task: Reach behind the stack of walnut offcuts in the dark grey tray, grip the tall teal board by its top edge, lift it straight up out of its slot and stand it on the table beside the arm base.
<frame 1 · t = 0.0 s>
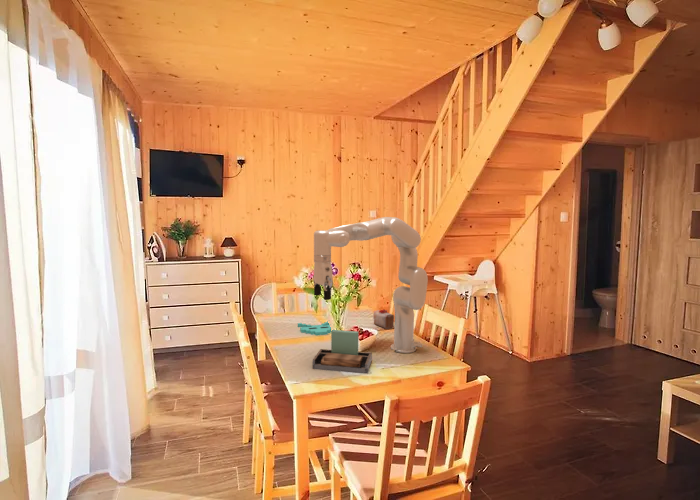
hand: (322, 297, 189), 31 cm above the table, tool pointing down, fingers open, 9 cm apart
food item: (383, 326, 254), on the table
bottom offcut: (341, 366, 189), point 1 cm above the table, touching dark grey tray, middle offcut
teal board: (344, 361, 195), point 1 cm above the table, touching dark grey tray
dark grey tray: (342, 367, 191), on the table
middle offcut: (340, 363, 189), point 3 cm above the table, touching bottom offcut, top offcut
top offcut: (343, 360, 188), point 4 cm above the table, touching middle offcut
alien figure: (317, 330, 246), on the table
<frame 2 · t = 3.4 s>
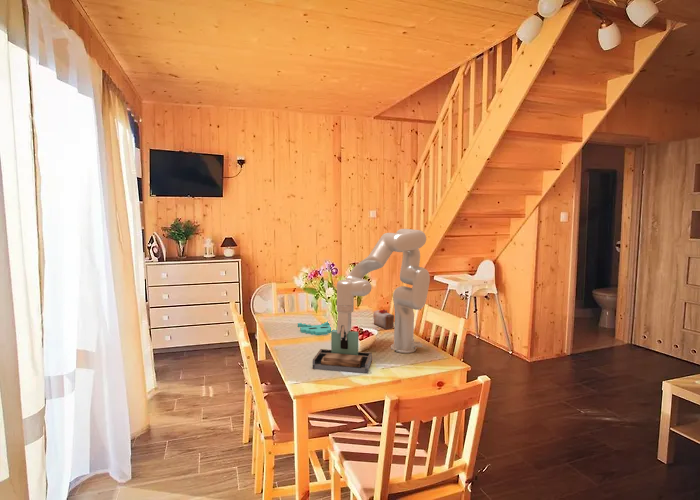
hand: (344, 347, 194), 8 cm above the table, tool pointing down, fingers closed on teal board, 2 cm apart
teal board: (344, 361, 195), point 1 cm above the table, touching gripper, dark grey tray
everything else where it was.
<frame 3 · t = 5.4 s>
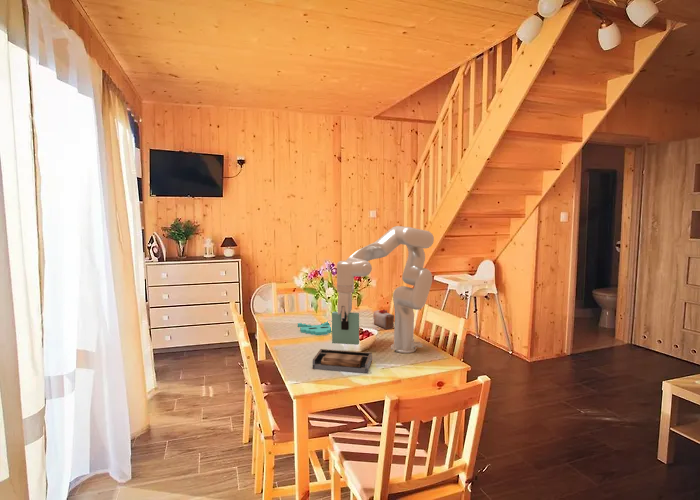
hand: (345, 328, 194), 16 cm above the table, tool pointing down, fingers closed on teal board
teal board: (345, 343, 194), point 10 cm above the table, touching gripper
everything else where it was.
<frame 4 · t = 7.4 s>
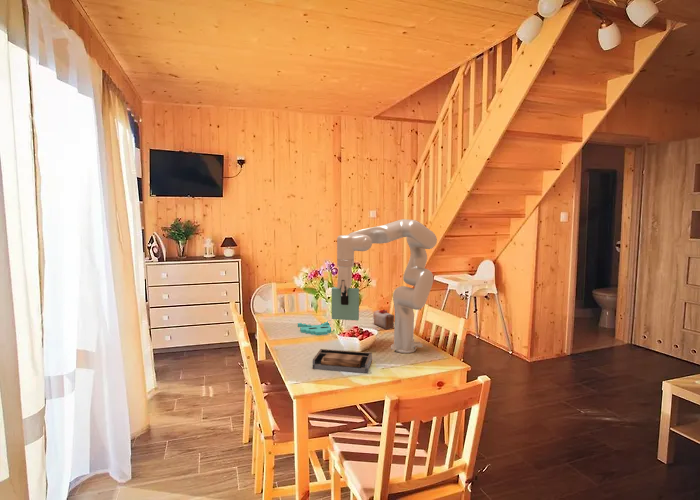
hand: (345, 303, 192), 28 cm above the table, tool pointing down, fingers closed on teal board
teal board: (345, 319, 193), point 21 cm above the table, touching gripper
everything else where it was.
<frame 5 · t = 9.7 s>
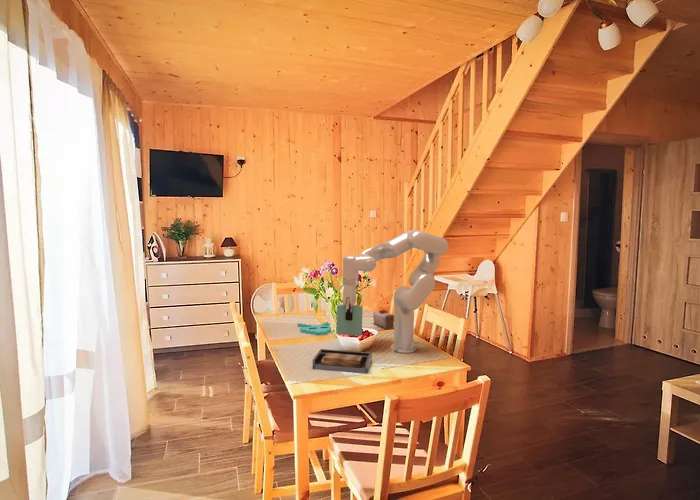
hand: (349, 319, 206), 17 cm above the table, tool pointing down, fingers closed on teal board
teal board: (349, 334, 206), point 10 cm above the table, touching gripper
everything else where it was.
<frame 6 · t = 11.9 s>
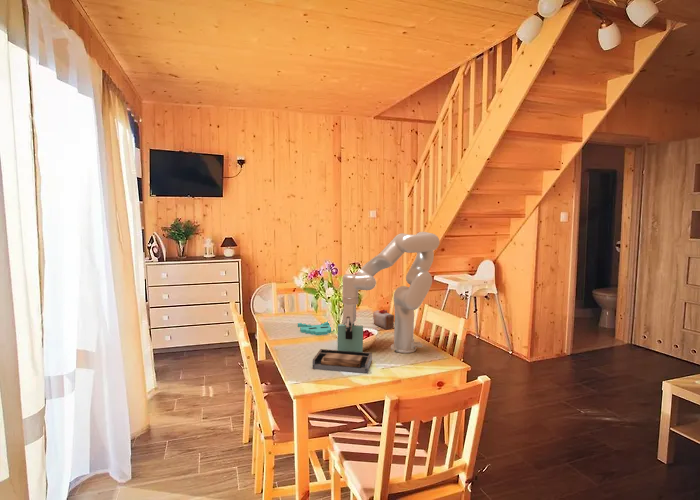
hand: (350, 336, 207), 8 cm above the table, tool pointing down, fingers open, 4 cm apart
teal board: (350, 353, 208), on the table
everything else where it was.
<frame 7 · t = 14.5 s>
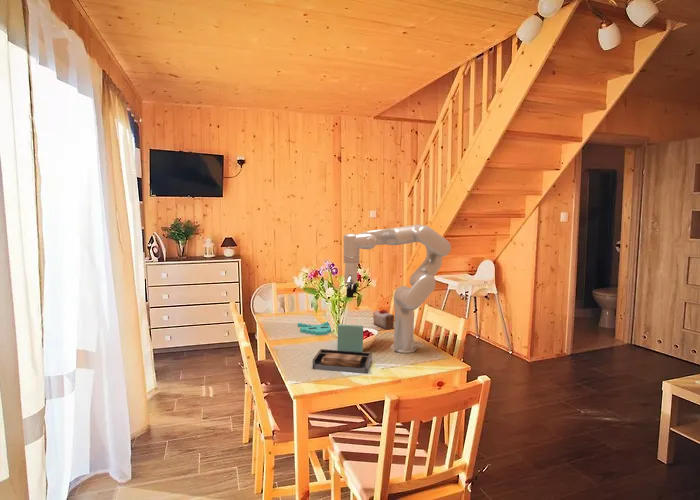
hand: (351, 295, 205), 29 cm above the table, tool pointing down, fingers open, 9 cm apart
nothing on the table moved.
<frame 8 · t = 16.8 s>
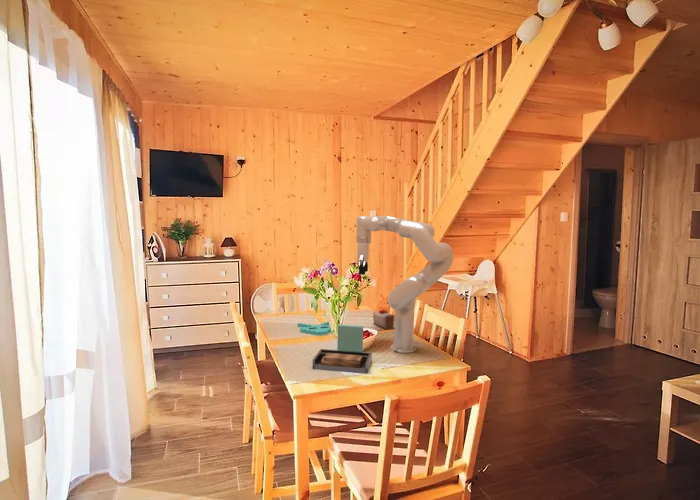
hand: (363, 272, 222), 36 cm above the table, tool pointing down, fingers open, 9 cm apart
nothing on the table moved.
at the end: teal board inside the target area (0.1 cm from its centre), on the table; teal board tilted 0°; top offcut moved 0.0 cm from its start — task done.
